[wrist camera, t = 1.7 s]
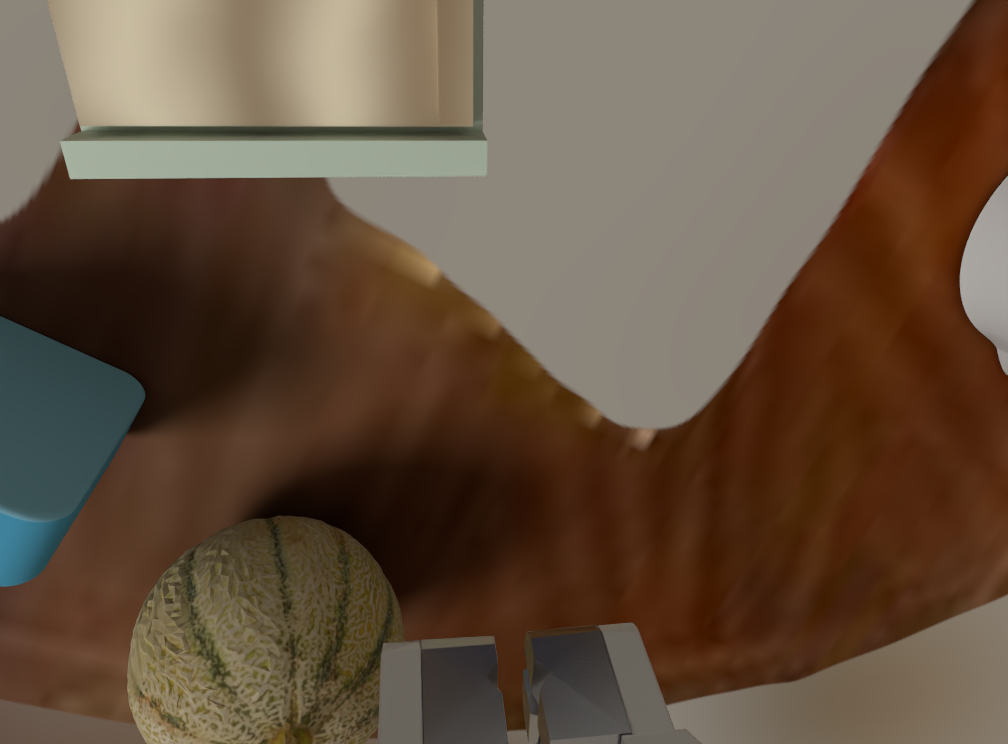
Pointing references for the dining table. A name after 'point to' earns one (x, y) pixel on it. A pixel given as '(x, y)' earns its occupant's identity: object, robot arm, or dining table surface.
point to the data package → (52, 441)
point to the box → (285, 147)
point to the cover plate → (268, 62)
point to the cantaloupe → (264, 639)
